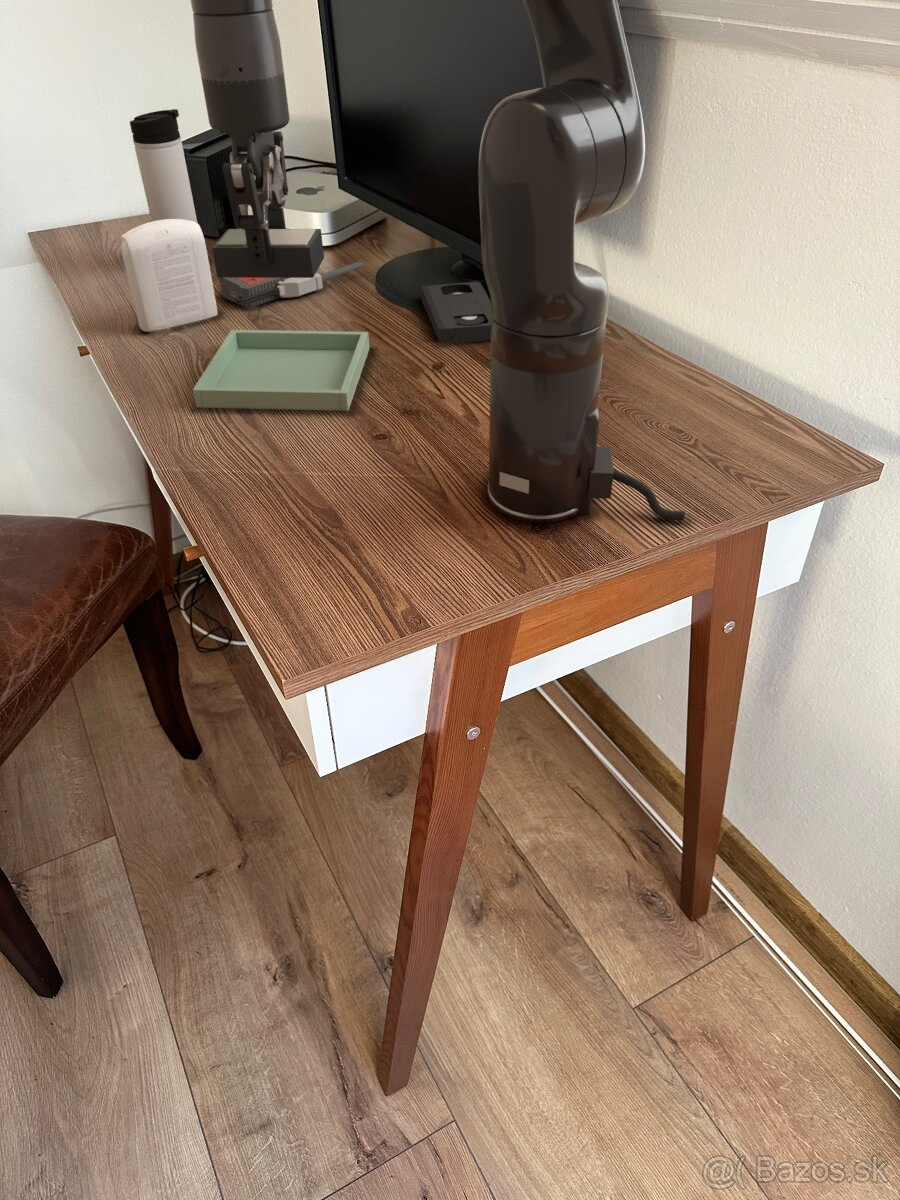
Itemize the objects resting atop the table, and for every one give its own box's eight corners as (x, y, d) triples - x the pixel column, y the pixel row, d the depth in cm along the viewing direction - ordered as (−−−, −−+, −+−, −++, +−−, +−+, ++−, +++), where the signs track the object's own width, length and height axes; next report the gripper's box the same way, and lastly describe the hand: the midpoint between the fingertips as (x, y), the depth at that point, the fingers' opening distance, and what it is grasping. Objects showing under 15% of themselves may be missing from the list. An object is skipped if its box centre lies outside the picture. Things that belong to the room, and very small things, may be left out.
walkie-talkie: (249, 317, 115) (367, 276, 125) (243, 283, 112) (365, 244, 122) (212, 299, 120) (329, 261, 130) (205, 266, 117) (325, 230, 127)
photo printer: (211, 306, 118) (192, 209, 110) (224, 317, 115) (205, 218, 107) (135, 325, 113) (109, 225, 105) (146, 336, 111) (121, 234, 103)
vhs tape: (502, 339, 108) (503, 323, 107) (439, 345, 107) (438, 329, 106) (479, 295, 119) (479, 280, 118) (421, 300, 118) (420, 285, 117)
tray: (369, 350, 106) (368, 331, 105) (348, 413, 95) (346, 393, 93) (234, 348, 108) (231, 329, 106) (196, 410, 96) (192, 389, 94)
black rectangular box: (324, 257, 95) (320, 227, 93) (313, 277, 90) (309, 246, 88) (232, 257, 95) (227, 227, 93) (217, 277, 91) (211, 246, 89)
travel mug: (201, 270, 128) (171, 115, 115) (156, 271, 128) (120, 116, 115) (211, 255, 133) (182, 105, 120) (167, 255, 133) (134, 106, 120)
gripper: (263, 84, 75) (290, 281, 86) (298, 55, 86) (318, 233, 97) (177, 85, 76) (215, 281, 87) (223, 56, 87) (251, 233, 98)
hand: (270, 255), depth 92 cm, fingers closed on black rectangular box, 6 cm apart
